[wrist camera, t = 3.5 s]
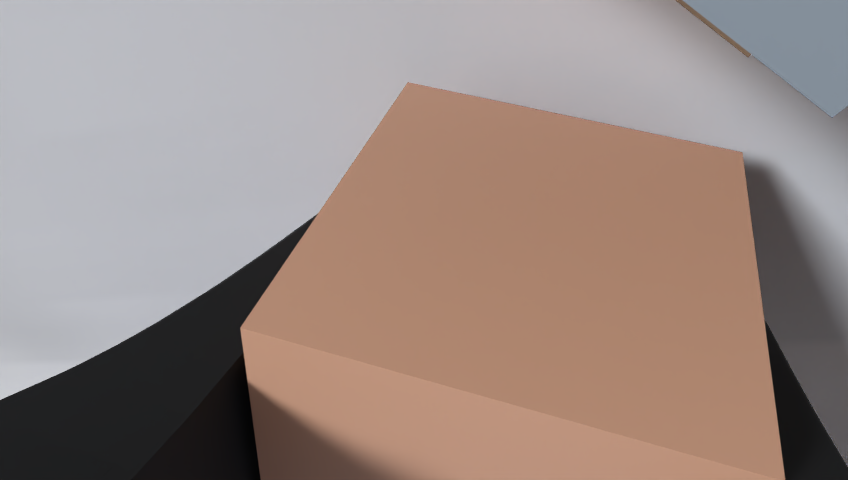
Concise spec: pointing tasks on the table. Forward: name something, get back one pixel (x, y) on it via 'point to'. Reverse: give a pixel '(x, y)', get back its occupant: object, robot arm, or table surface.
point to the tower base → (714, 28)
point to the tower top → (791, 42)
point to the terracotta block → (518, 309)
